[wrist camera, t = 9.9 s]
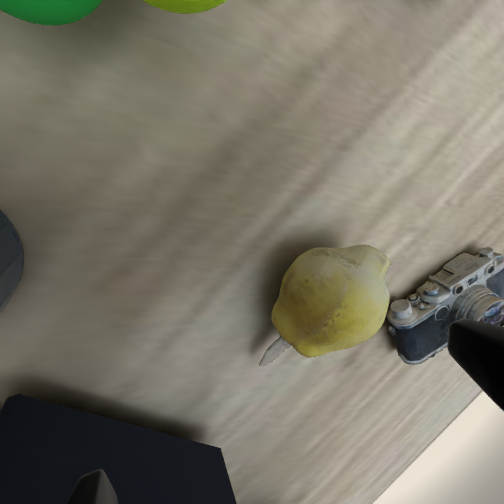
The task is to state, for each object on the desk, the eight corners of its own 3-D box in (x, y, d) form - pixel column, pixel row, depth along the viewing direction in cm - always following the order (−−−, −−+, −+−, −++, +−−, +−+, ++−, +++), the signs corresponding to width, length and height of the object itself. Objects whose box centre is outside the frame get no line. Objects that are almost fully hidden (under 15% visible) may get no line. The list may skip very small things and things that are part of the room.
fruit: (216, 339, 21) (310, 204, 18) (279, 345, 25) (363, 235, 22) (262, 422, 17) (390, 265, 14) (328, 413, 21) (438, 289, 18)
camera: (373, 307, 24) (417, 339, 21) (484, 236, 26) (544, 255, 22) (389, 354, 27) (431, 391, 23) (490, 287, 28) (546, 312, 24)
